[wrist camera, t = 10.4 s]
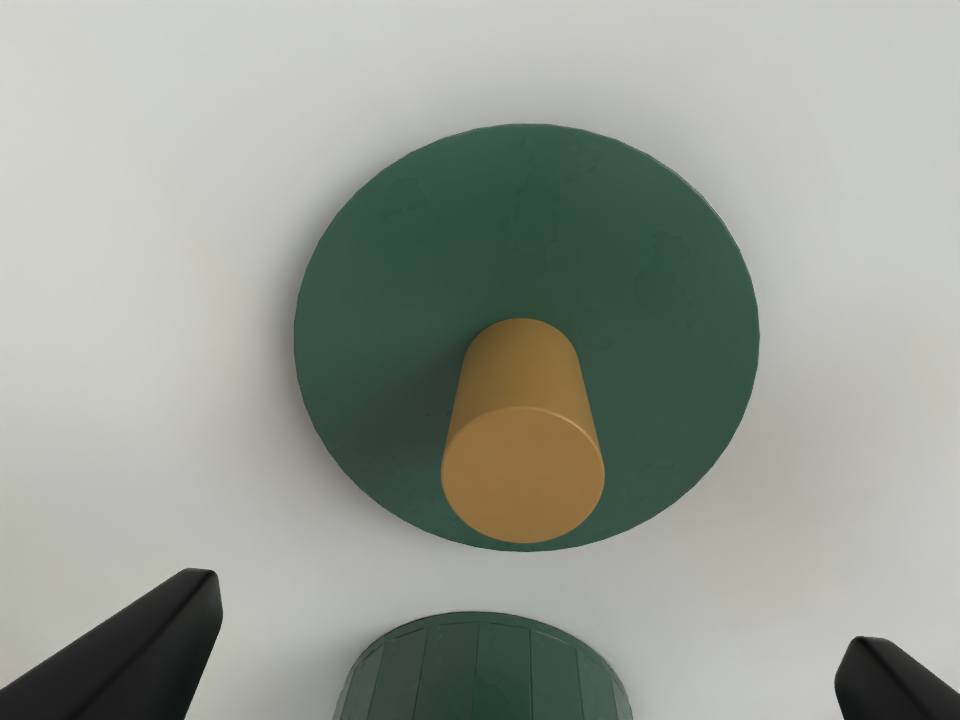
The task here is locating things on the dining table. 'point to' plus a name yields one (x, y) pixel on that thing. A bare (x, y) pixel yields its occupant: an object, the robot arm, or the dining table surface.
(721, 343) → the tin lid
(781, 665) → the dining table surface
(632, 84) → the dining table surface
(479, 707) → the tin
